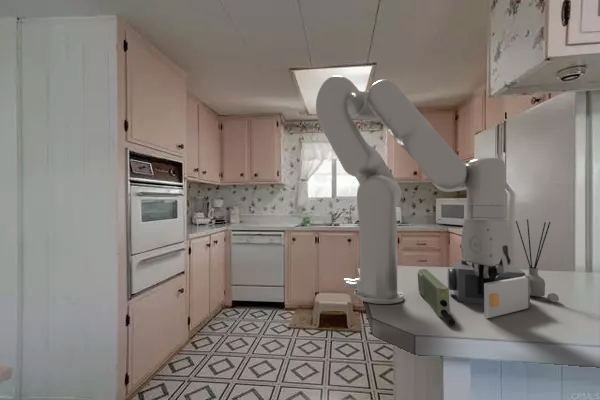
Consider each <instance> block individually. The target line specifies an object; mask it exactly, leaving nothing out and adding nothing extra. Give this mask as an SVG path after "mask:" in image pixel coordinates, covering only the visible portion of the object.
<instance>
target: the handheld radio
mask: <svg viewBox="0 0 600 400" xmlns="http://www.w3.org/2000/svg"><path fill="white" fill-rule="evenodd" d="M417 286H418V287H417V289H418V292H419V293H420V294H421V296H422V297H423V299H424V300H425V301H426V302H427V304H428V306H429V307H430V308H431V309H432V310H433V312H434V313H435V314H436V316H437V317H439V318H444V320H445V321H446V322H447V323H448V325H449V326H451V327H452V326H454V325H456V320H455V319H454V318H453V316H451V307H450V305H451V304H450V290H449V289H448V286H447V285H445V283H442V281H441V280H440V279H438V278H437V277H436V276H435V275H434V274H433V273H432V272H430V271H429V269H427V268H420V269H419V270H418V271H417Z"/></svg>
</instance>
